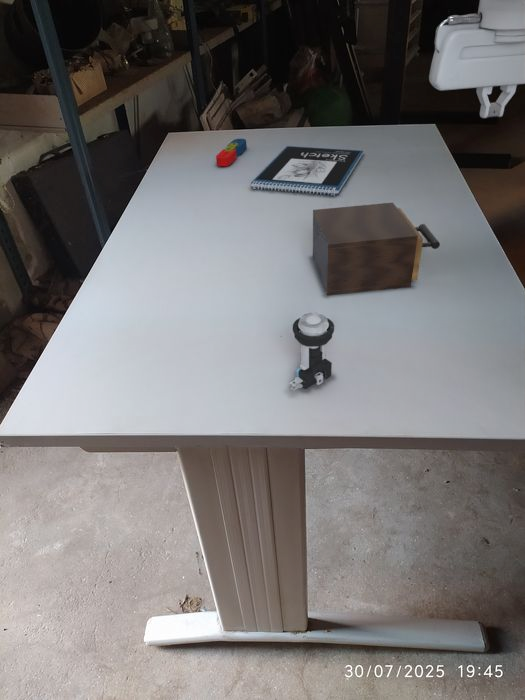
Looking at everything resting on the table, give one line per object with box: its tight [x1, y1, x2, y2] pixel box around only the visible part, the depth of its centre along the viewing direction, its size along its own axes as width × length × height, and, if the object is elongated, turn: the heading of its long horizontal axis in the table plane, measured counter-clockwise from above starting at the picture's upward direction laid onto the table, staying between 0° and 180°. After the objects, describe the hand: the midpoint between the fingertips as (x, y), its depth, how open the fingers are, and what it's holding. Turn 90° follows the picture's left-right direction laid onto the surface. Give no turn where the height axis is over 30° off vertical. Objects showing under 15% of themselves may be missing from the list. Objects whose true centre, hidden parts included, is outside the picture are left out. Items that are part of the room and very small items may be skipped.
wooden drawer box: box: [312, 202, 418, 296], centre depth 94 cm, size 15×14×10 cm
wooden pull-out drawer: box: [397, 207, 441, 281], centre depth 94 cm, size 18×12×8 cm
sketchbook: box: [250, 145, 364, 197], centre depth 138 cm, size 22×30×2 cm
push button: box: [289, 311, 335, 392], centre depth 71 cm, size 7×5×10 cm
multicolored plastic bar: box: [215, 138, 248, 167], centre depth 149 cm, size 17×4×3 cm, turn 163°
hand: (490, 116), depth 83 cm, fingers closed
